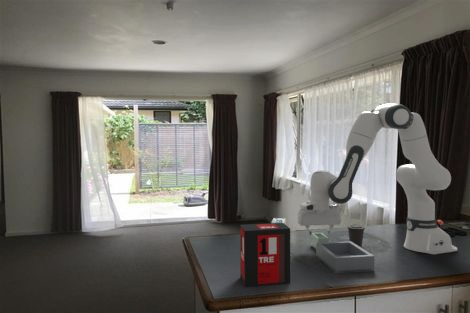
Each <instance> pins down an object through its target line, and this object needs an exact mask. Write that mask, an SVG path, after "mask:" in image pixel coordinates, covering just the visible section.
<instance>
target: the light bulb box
mask: <svg viewBox="0 0 470 313" xmlns="http://www.w3.org/2000/svg"><path fill="white" fill-rule="evenodd" d="M270 223H284V224H285V225H286V226H287V218H280V217H279V218H278V217H273V219H272V220H271V222H270Z"/></svg>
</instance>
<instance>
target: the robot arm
mask: <svg viewBox="0 0 470 313" xmlns="http://www.w3.org/2000/svg"><path fill="white" fill-rule="evenodd" d="M383 128H385V129H395V130H397V132H398V135H399V141H400V144H401V149H402V154H403V155H404V157H405V158H406V159H407V160H409V161H410V162H411V163H408V164H406V163H405V164H402V165H400V166H398V168H397V169H396V171H395V179H396V181H397V182H398V184H400V186H401V187H402V188H403V191H404V193H405V195H406V200H407V217H406V228H407V229H406V235H405V241H404V244H403V247H404V248H405V249H407V250H410V251H413V252H419V253H425V254H430V255H438V254H445V253H446V254H447V253H453V252H458V251H459V250H458V247H457V246H455V245H453V244H452V238H451V236H450V235H449V234H448V233H447V232H446V231H444V230H443V229H441V227H439V225H440V226H442V225H443V224H444V221H443V220H441V219H437V218H436V216H435V215H436V203H435V201H434V200H433V199H432V198H431V197H430V195H428V193H427V190H428V191H442V190H446V189H447V188H448V187H449V186H450V185H451V181H452V176H451V173H450V171H449V170H448V169H447V168H446V167H444V166H443V165H442V164H441V163H439V161H438V160H437V158H435V155H434V153H433V152H432V150H431V146H430V142H429V138H428V134H427V129H426V126H425V123H424V121H423V119H422V117H421V115H420V114H419V113H417V112H411V110H410V109H409V108H408V107H407V106H405V105H403V104H401V103H395V102H394V103H392V102H391V103H390V102H389V103H381V104H379V105H377V106H375V107H374V108H373V109H372V110H371V111H362V112H361V113H359V115H358V117H357V118H356V120H355V122H354V123H353V125H352V127H351V128H350V132H349V134H348V137H347V141H346V145H345V149H346V150H345V151H346V153H345V154H346V155H345V159H344V162H343V165H342V167H341V169H340V172H339V175H338V176H337V175H335V174H333V173H331V172H330V171H329V170H327V169H323V170H317V171H315V172H313V173H312V174H311V177H310V184H309V185H310V186H309V187H310V198H309V200H307V201H305V202H301V203H300V204H299V208H300V209H299V210H298V214H297V223H298V225H300V226H301V227H302V226H303V227H305V229H306V232H307V235H308V236H311V235H312V233H313V231H312V230H310V226H328V229H326V235H331V234H332V230H333V229H334V225H336V226H337V225H340V224H341V222H342V218H341V217H342V216H341V206H340V205H343V204H346V203H348V202H349V201H350V200H351V199H352V196H353V183H354V180H355V177H356V175H357V172H358V171H359V170H358V169H359V167H360V165H361V163H362V161H363V160H364V159H365V157H366V155H368V153H369V151H370V150H371V147H372V146H373V144H374V142H375V140H376V137H377V134H378V133H379V132H380V130H381V129H383ZM330 200H331V201H332V202H333V203H336V204H330V202H331V201H330ZM338 204H340V205H338Z"/></svg>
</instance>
